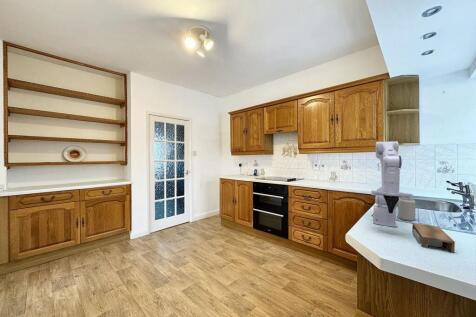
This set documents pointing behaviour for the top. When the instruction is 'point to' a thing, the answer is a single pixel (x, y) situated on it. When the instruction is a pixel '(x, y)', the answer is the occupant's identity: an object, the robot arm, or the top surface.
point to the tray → (430, 242)
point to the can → (407, 209)
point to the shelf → (433, 235)
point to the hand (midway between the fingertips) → (390, 212)
